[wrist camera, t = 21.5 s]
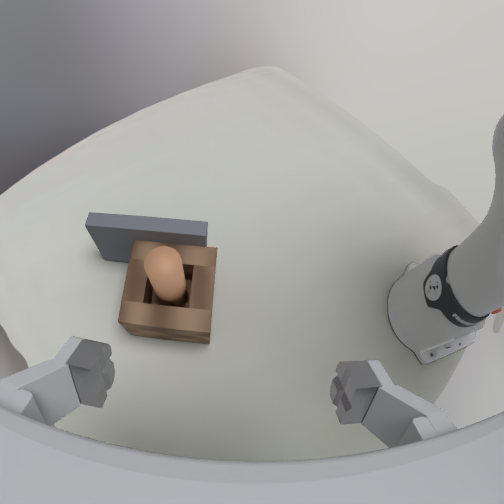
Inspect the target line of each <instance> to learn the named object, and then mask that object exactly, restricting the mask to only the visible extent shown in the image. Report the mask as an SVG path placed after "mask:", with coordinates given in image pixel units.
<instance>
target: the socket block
mask: <svg viewBox="0 0 504 504" xmlns="http://www.w3.org/2000/svg"><path fill="white" fill-rule="evenodd" d="M160 246H168V247H171V248H173V249H175V250H176V251H177V252H178V253H179V254H180V256H181V259H182V265H183V270H184V276H185V281H186V286H187V291H188V302H187V304H186V306H185V307H184V308H183V307H174V306H165V305H161V303H160V301H159V299H158V297H157V295H156V293H155V291H154V289H153V287H152V284H151V282H150V280H149V278H148V276H147V274H146V272H145V269H144V261H145V258H146V256H147V254H148V253H149V252H150V251H151V250H153V249H154V248H156V247H160ZM216 257H217V248H214V247H203V246H193V245H182V244H172V243H161V242H150V241H140V240H134V244H133V248H132V252H131V257H130V261H129V266H128V271H127V276H126V281H125V286H124V291H123V296H122V302H121V307H120V313H119V319H118V322H119V323H120V324H121V325H122V326H123V327H124V328H125V329H126V330H127V331H128V332H129V333H130V334H131V335H138V336H145V337H153V338H160V339H169V340H177V341H187V342H197V343H208V344H210V330H211V316H212V303H213V291H214V279H215V268H216Z"/></svg>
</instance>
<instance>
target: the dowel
mask: <svg viewBox="0 0 504 504" xmlns="http://www.w3.org/2000/svg"><path fill="white" fill-rule="evenodd" d="M144 269H145V272H146V274H147V276H148V278H149V280H150V282H151V284H152V287H153V289H154V291H155V293H156V295H157V297H158V299H159V301H160V303H161V305H165V306H174V307H183V308H184V307H185V306H186V304H187V302H188V291H187V286H186V281H185V276H184V270H183V265H182V259H181V256H180V254H179V253H178V252H177V251H176V250H175V249H173V248H171V247H168V246H160V247H156V248H154V249H153V250H151V251H150V252H149V253H148V254H147V256H146V258H145V261H144Z"/></svg>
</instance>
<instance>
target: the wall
mask: <svg viewBox="0 0 504 504" xmlns="http://www.w3.org/2000/svg"><path fill="white" fill-rule="evenodd" d="M85 226H86V228H87V230H88V232H89V233H90V235H91V237H92V239H93V240H94V242H95V244H96V246H97V247H98V249H99V251H100V252H101V254H102V256H103V257H104V259H105V260H111V261H120V262H129V261H130V257H131V252H132V248H133V244H134V240H140V241H150V242H161V243H172V244H182V245H193V246H203V247H207V227H208V222H202V221H191V220H180V219H169V218H157V217H145V216H132V215H119V214H106V213H92V212H89V215H88V218H87V221H86V223H85Z"/></svg>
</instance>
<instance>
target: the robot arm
mask: <svg viewBox="0 0 504 504" xmlns="http://www.w3.org/2000/svg"><path fill="white" fill-rule="evenodd" d="M492 148H493V157H494V162H495V174H496V178H495V190H494V196H493V200H492V203H491V207H490V209H489V211H488V214H487V216H486V217H485V219H484V220H483V221H482V223H481V224H480V225H479V226H478V227H477V228H476V229H475V231H474V232H473V233H472V234H471V235H470V236H469V237H468V238H466V239H465V240H464V241H463V242H462V243H461V244H460V245H456V246H453V247H452V248H450V249H448V250H446V251H445V252H444V253H443V254H442V255H438V254H434V255H432V256H431V257H429V258H428V259H426V260H424V261H423V262H421V263H420V264H417V263H411V264H409V265H408V266H407V268H406V270H405V273H404V275H403V276H402V277H401V278H400V279H399V280H397V281H396V282H395V284H394V285H393V287H392V289H391V291H390V294H389V298H388V314H389V319H390V322H391V325H392V328H393V330H394V332H395V333H396V335H397V337H398V338H399V339H400V340H401V341H402V343H404V344H405V345H406V346H407V347H409V348H410V349H411V350H413V351H414V352H415V354H416V356H417V357H418V359H419V360H420V362H421V363H422V364H428V363H430V362H433V361H435V360H438V359H440V358H442V357H445V356H447V355H449V354H451V353H454V352H456V351H458V350H460V349H462V348H465V347H467V346H469V345H471V344H472V343H474V340H475V336H476V331H477V330H479V329H481V328H483V326H484V324H485V319H486V317H487V316H489V314H490V313H492V314H495V313H498V312H500V311H501V310H502V307H503V306H504V115H503V116H502V117H501V119H500V120H499V122H498V124H497V126H496V129H495V132H494V136H493V146H492ZM111 354H112V352H111V347H110V345H109V344H106V343H102V342H97V341H92V340H88V339H83V338H78V337H74V336H73V337H70V338H69V340H68V341H67V342H66V343H65V345H64V346H63V347H62V349H61V350H60V351H59V353H58V354H57V355H56V357H55V358H54V359H53V361H52V360H47V361H45V362H43V363H40V364H38V365H35V366H33V367H30V368H28V369H26V370H23V371H21V372H18V373H16V374H13V375H11V376H8V377H6V378H4V379H1V380H0V504H504V412H502V413H499V414H497V415H495V416H492V417H490V418H487V419H485V420H482V421H480V422H477V423H475V424H472V425H469V426H466V427H464V428H461V429H457V428H456V427H455V425H454V424H453V422H452V421H451V419H450V418H449V416H448V415H447V413H446V412H445V411H444V410H442V409H441V408H439V407H437V406H435V405H433V404H431V403H430V402H428V401H426V400H424V399H422V398H420V397H419V396H417V395H415V394H413V393H411V392H410V391H408V390H406V389H404V388H402V387H401V386H399V385H394V383H393V382H392V380H391V379H390V377H389V376H388V374H387V372H386V371H385V369H384V368H383V366H382V365H381V363H380V362H379V361H378V360H377V359H374V360H365V361H346V362H339V364H338V365H337V368H336V372H337V374H338V375H337V376H336V377H335V378H334V379H333V380H332V383H331V388H330V395H331V400H332V403H333V404H334V405H336V406H337V410H336V414H337V417H338V419H339V422H340V424H353V423H361V424H362V425H363V426H365V427H366V428H367V429H368V430H369V431H370V432H372V433H373V434H374V435H375V436H376V437H377V438H379V439H380V440H381V441H382V442H383V443H385V444H386V445H387V446H388V447H389V448H387V449H382V450H377V451H372V452H366V453H360V454H353V455H346V456H339V457H330V458H320V459H308V460H292V461H228V460H212V459H200V458H190V457H181V456H174V455H166V454H160V453H154V452H148V451H142V450H137V449H132V448H127V447H123V446H118V445H114V444H110V443H106V442H102V441H98V440H94V439H90V438H87V437H83V436H80V435H77V434H73V433H70V432H67V431H64V430H61V429H58V428H55V427H52V426H51V425H53V424H54V423H55V422H57V421H58V420H60V419H61V418H63V417H64V416H65V415H67V414H68V413H70V412H71V411H72V410H74V409H75V408H77V407H78V406H80V405H81V404H85V405H89V406H94V407H98V408H102V407H103V404H104V402H105V400H106V398H107V392H106V390H108V389H109V388H111V386H112V384H113V381H114V376H115V369H114V363H113V362H112V361H111V360H110V356H111ZM430 354H431V356H430ZM80 403H81V404H80Z"/></svg>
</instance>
